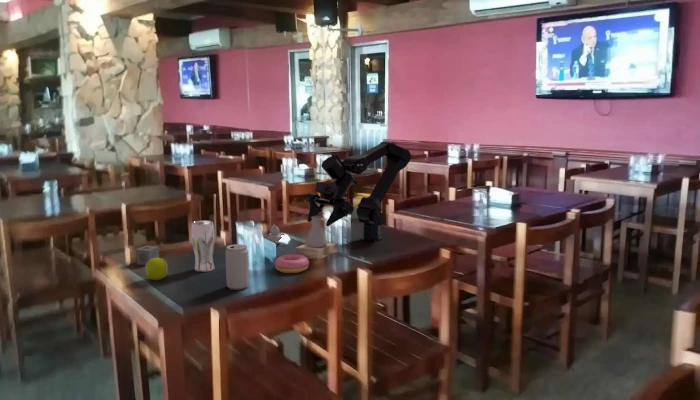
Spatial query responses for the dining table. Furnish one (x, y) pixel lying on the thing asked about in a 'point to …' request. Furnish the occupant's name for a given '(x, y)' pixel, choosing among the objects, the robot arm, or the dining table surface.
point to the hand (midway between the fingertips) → (317, 223)
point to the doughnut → (291, 263)
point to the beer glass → (203, 245)
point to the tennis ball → (156, 268)
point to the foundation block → (317, 251)
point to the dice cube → (146, 254)
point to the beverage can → (237, 266)
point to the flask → (316, 234)
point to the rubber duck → (275, 234)
